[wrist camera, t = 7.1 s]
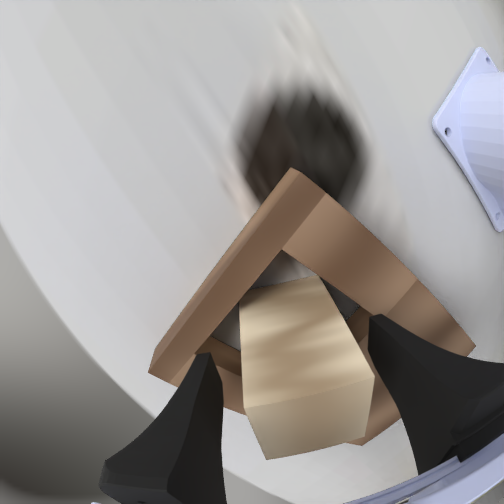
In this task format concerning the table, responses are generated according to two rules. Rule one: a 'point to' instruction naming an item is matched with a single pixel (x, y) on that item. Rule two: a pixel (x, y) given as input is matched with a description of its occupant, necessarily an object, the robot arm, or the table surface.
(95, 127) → the table surface
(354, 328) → the slotted walnut block
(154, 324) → the table surface
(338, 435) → the maple peg
